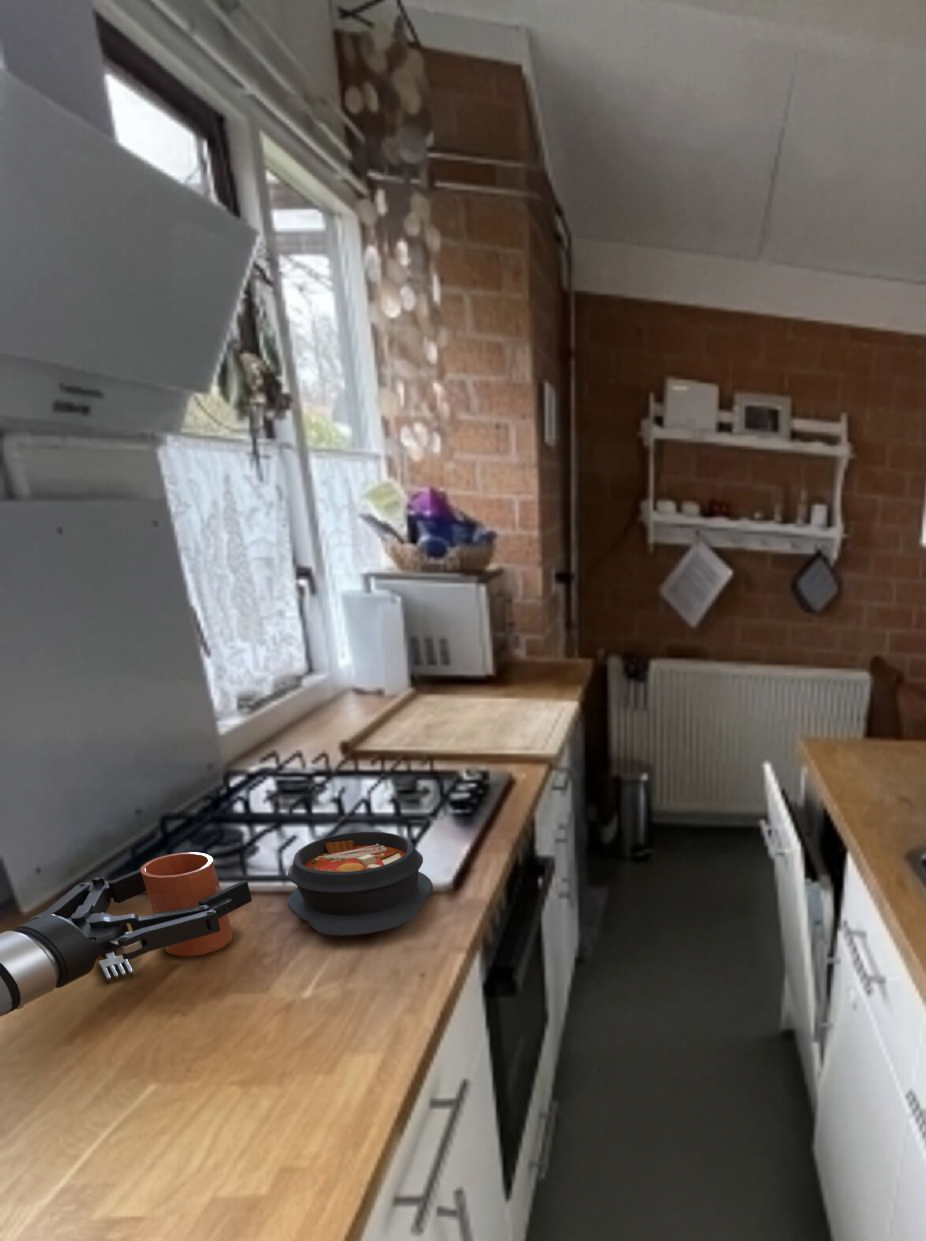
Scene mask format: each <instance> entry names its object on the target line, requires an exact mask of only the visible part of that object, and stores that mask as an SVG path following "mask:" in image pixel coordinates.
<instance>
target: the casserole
mask: <svg viewBox="0 0 926 1241" xmlns="http://www.w3.org/2000/svg"><path fill="white" fill-rule="evenodd" d="M423 863H424V856H423V855H422V853H421V852H420V851H418V850H417V849H416V848H415V846H414V844H413V843H412V840H410V839H408V838H407V837H404V836H402V835H399V834H395V833H393V832H392V833H391V832H384V831H355V832H353V831H352V832H347V833H339V834H334V835H329V836H327V837H323V838H320V839H316V840H314V841H312V842H309V843H308V844H306V845H304V846H303V847H301V848H300V849H299V850H297V852H296V853H295V854H294V857H293V860H292V865H291V866H289V868H288V871H287V876H288V879H289V880H290V881H291V882H292V883H293V884H294V885H295V886H297V888H295V889H294V890H293V891H292V892H291V894H290V896H289V897H288V900H287V902H286V903H287V907H288V910H289V911H290V912H291V913H292V914H293V916H294V915H295V916H296V917H298V918H299V919H302V920H304V921H305V922H307V923H308V924H309V925H310V926H311V927H312V928H313V929H314V930H315V931H316V932H317V933H320V934H324V935H327V936H359V935H367V934H368V935H369V934H373V933H378V932H383V931H387V930H390V929H394V928H398V927H400V926H402V925H403V926H404V925H405V924H408V923H409V922H411V921H412V920H414V919H415V917H416V915H417V914H418V912H419V910H420V908H421V906H422V905H423V904H424V903H425V901H426V900H427V899H428V898H429V897H430V896H431V895H432V892H433V890H434V885H433V884H434V883H433V881H432V880H431V878H429V877H428V876H427V875H426V874H425V873H423V872H420V869H421V867H422V865H423Z"/></svg>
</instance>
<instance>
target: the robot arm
mask: <svg viewBox="0 0 926 1241" xmlns="http://www.w3.org/2000/svg"><path fill="white" fill-rule="evenodd" d="M248 882H249V881H246V880H241V881H238V882H237V883H235V884H233V885H230V886H228V887H226V888H224V889H222V890H221V891H220V892H218V893H216V894H214V895H212V896H210V897H208V898H205V899H203V900H201V901H199V902H198V904H199V906H196V907H191V908H185V909H179V910H173V911H168V912H162V913H156V914H154V913H152V914H146V915H137V914H136V913H128V914H127V913H126V914H123V915H122V914H121V915H112V914H110V913H108V912H107V911H108V910H109V907H110V906H111V904H112V900H111V899H113V902H114V903H116V904H120V903H123V902H125V901H127V900H129V899H132V898H134V897H136V896H138V895H141V894H143V893H145V892H147V890H146V887H145V884H144V880H143V877H142V874H141V868H139V869H137V870H135V871H132V872H129V873H127V874H125V875H122V876H120V877H118V878H114V879H113V880H110V881H107V883H106V882H105V878H104V877H101V876H100V877H98V876H97V877H94V878H92V879H91V883H92V885H90V883H88V882H80V883H78V884H76V885H75V886H74V887H73V888H72V889H70V890H69V891H68V892H66V894H64V895H63V896H62V897H60V898H59V899H58V900H56V902H54V903H53V904H52V905H51V906H49V907H48V908H47V909H45V910H44V911H41V912H40V913H38V914H36V915H33V916H31V917H30V918H29V921H27V922H26V923H23V924H21V925H18V926H15V928H13V929H11V930H6V931H3V932H1V933H0V1018H1V1017H3V1016H5V1015H8V1014H9V1013H11V1012H14V1011H16V1010H21V1009H23V1008H24V1007H25V1006H26V1005H28V1004H30V1003H31V1002H33V1001H35V1000H38V999H40V998H41V997H44V996H46V995H47V994H50V993H51V992H53V991H54V990H55V989H59V988H63V987H65V986H66V985H68V984H70V983H72V982H74V981H76V980H79V979H81V978H83V977H85V976H87V975H88V974H89V973H91V972H92V970H93V969H94V967H95V964H96V962H97V961H98V959H99V957H100V956H102V955H103V954H106V953H109V952H113V951H116V952H120V953H121V955H122V956H123V959H125V960H128V961H129V960H133V959H135V958H138V957H140V956H142V955H145V954H147V953H150V952H152V951H157V950H159V949H163V948H164V947H167V946H170V945H174V944H177V943H181V942H184V941H188V940H191V939H195V938H198V937H202V936H206V935H209V934H213V933H216V932H219V931H220V930H221V929H220V925H219V921H218V918H220V917H222V916H224V915H226V914H227V915H228V914H230V913H231V912H234V911H235V910H237V909H239V908H241V907H243V906H245V905H247V904H249V903H251V902H252V901H253V898H252V894H251V891H250V886H249V883H248ZM128 924H129V925H130V927H131V931H130V930H129V927H128Z"/></svg>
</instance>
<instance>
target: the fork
mask: <svg viewBox="0 0 926 1241" xmlns="http://www.w3.org/2000/svg"><path fill="white" fill-rule="evenodd" d="M116 953H117V950H116V951H113V952H109V953H106V954H103V955H101V957H105V959H101V960H98V964H99V966H100V968H101V970H102V972H103V974H104V976H105V978H106V980H107V981H108V982H111V981H112V977H111V974H110V973H109V971H108V970H110V971H111V973H112V975H113V977H114V979H115V980H118V979H120V976H119V974H118V972H117V970H116V968H117V969H118V970H119V972H120V974H121V976H122V978H126V977H128V976H127V973H126V971H125V969H124V967H123V966H125V968H126V970H127V971H128V973H129V975H130V976H133V975H134V974H135V973H134V970H133V969H132V966H131V965H130V962H129V960H125V959H123V956H122V954H120V955H117V956H116V955H115V954H116Z"/></svg>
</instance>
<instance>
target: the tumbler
mask: <svg viewBox="0 0 926 1241" xmlns="http://www.w3.org/2000/svg"><path fill="white" fill-rule="evenodd" d="M140 869H141V874H142V877H143V880H144V884H145V887H146V890H147V891H146V893H147V896H148V899H149V903H150V906H151V909H152V914H156V913H162V912H168V911H173V910H179V909H185V908H191V907H196V906H199V904H198V902H199V901H201V900H203V899H205V898H208V897H210V896H212V895H214V894H216V893H218V892H220V891H222V890H221V885H220V882H219V878H218V873H217V870H216V867H215V863H214V859H213V857H212V856H211V855H209V854H206V853H202V852H196V851H195V852H193V851H192V852H178V853H171V854H166V855H163V856H160V857H156V858H153V859H152V860H150V861H147V862H145V863H144V864H143V865H142V866H141V867H140ZM218 921H219V925H220V929H221V930H220V931H219V932H216V933H213V934H209V935H206V936H202V937H198V938H195V939H191V940H188V941H184V942H181V943H177V944H174V945H170V946H167V947H163V948H164V950H165V952H166V953H168V954H169V955H171V956H174V957H197V956H202V955H206V954H207V955H208V954H209V953H214V952H216V951H218V950H220V949H223V948H225V947H226V946H227V945H229V944H230V943H231V941H232V940H233V938H234V937H233V936H234V935H233V931H232V927H231V923H230V919H229V916H228V914H226V915H224V916H222V917H220V918H218Z"/></svg>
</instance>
